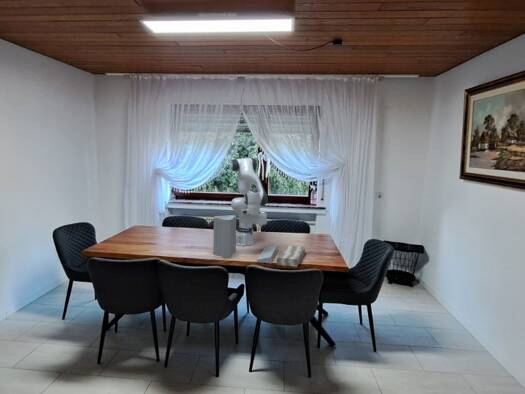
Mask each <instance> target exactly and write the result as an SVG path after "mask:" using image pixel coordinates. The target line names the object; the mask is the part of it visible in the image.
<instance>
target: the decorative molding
mask: <svg viewBox="0 0 525 394" xmlns="http://www.w3.org/2000/svg"><path fill="white" fill-rule="evenodd" d="M278 252H279V248H278V244H277V245H271V246H267V247H264V248H263V250H262V251H261V253H260V254H259V256H258V257H257V258H256V261H257V263H261V264H263V263H267V264H273V262H274V260H275V258H276V256H277V255H278Z"/></svg>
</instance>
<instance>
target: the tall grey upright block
mask: <svg viewBox="0 0 525 394" xmlns="http://www.w3.org/2000/svg"><path fill="white" fill-rule="evenodd" d="M236 231H237V215H229V214H228V215H217V216H216V215H214V217H213V245H212V246H213V247H212V248H213V251H212V253H213V255H215V256H218V257H220V256H221V258H223V257H224V258H223V259H230V258H232V257H233V255H235V253H236V252H237V251H236V248H237V247H236V246H237V245H236Z"/></svg>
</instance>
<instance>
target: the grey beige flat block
mask: <svg viewBox="0 0 525 394" xmlns="http://www.w3.org/2000/svg"><path fill="white" fill-rule="evenodd" d="M305 254H306V246H298V245H290V244H289V245H286V246H285V247H284V249H283V250H282V251H281V253H280V254H279V255H277V257H276V265H277V266H286V267H287V266H288V267H296V268H297V267H298V266H299V264H300V263H301V261H302V259H303V258H304V255H305ZM299 262H300V263H299Z"/></svg>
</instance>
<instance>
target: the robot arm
mask: <svg viewBox="0 0 525 394" xmlns="http://www.w3.org/2000/svg"><path fill="white" fill-rule="evenodd" d="M230 168H231V170H232V171H233V172H238V173H237V191H238V193H240V194H241V195H243V197H235V198H233V199H232V200H231V202H230V208H231V209H232V210H233V211H234V212H235V213H237V217H238V220H239V221H238V222H239V223H238V224H239V225H238V226H236V246H239V247H245V246H252V245H253V246H254V244H255V242H254V237H253V235H254V227H253V225H259V227H257V231H260V230H261V227H262V225H263V226H265V225H267V224H268V219H267V218H268V213H267V212H265V211H260V210H261V208H262V206H263V207H264V206H265V205H267V204H268V202H269V197H268V193H267V192H266V190H265V188H264V186H263V183H262V181H261V178H260V176H259V175H258V174H257V173H255V171H256V170H257V168H258V162H257V159H256V158H252V157H251V158H247V157H242V158H234V159H232V160H231V163H230ZM252 185H254V186H255V187H256V188H252Z"/></svg>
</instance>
